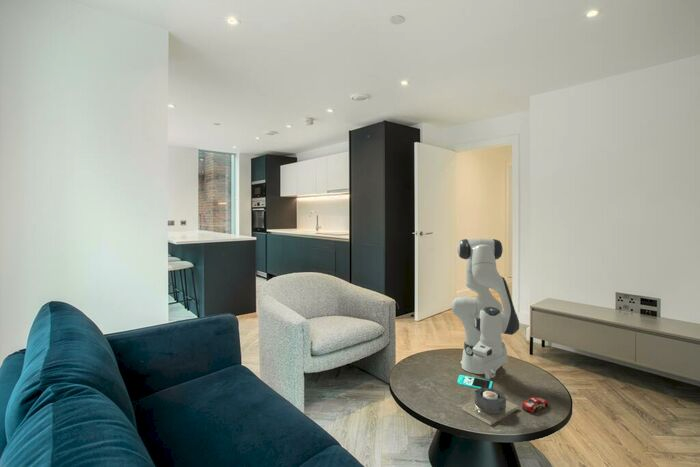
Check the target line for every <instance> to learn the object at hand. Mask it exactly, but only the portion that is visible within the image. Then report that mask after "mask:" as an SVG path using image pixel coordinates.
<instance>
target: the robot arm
mask: <svg viewBox="0 0 700 467" xmlns="http://www.w3.org/2000/svg"><path fill="white" fill-rule="evenodd" d="M456 251H457V255H458V256H459V258H461V259H463V260H466V265H465V285H466V287H467V289H469V290H471V291H473V292H474V293H476V295H477V297H474V296H473V297H472V296H459V297H458V296H456V297H455V298H454V299H453V300H452V301H451V307H450V308H451V311H452V313H453V314H454V315H455V316H456V317H457V318H458V319H459V320H460V321H461V322H462V325H463V328H464V343H463V350H462V356H461V357H462V359H461V360H460V364H461V368H462V369H463V370H464V371H466V372H468V373H471V374H475V375H477V374H478V375H485V380H489V381H490V379H493V378H495V377H496V372H497V370H499V369H500V368H501V367H502V365H504V364H507V362H508V350H507V347H506V344H505V342H503V338H502V334H503V335H509V336H510V335H511V336H513V335H514V334H516V333H517V332H518V331H519V330H520V321H519V317H518V315H517V312H516V309H515V307H514V306H515V305H514V303H513V299H512V296H511V292H510V290H509V286H508V283H507V281H506V279H505V277H503V276H501V274H500V272H498V268H497V262H496V260H499V259H500V258H501V257H502V255H503V252H504V248H503V244H502V242H501V241H500V240H498V239H496V238H495V239H494V238H492V239H491V238H470V239H469V238H468V239H466V238H464V239H461V240H459V242H458V244H457V246H456ZM490 289H491V290H493V291H495V292H496V293H498V296H499V297H500V301H501V302H500V301H499V300H498V299H497V298H495V296H494V295H493V294H492V292H491V290H490Z"/></svg>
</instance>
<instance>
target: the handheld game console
mask: <svg viewBox="0 0 700 467" xmlns="http://www.w3.org/2000/svg"><path fill="white" fill-rule="evenodd" d="M457 384H458V385H460V386H465V387H469V388H472V389H473V388H474V389H477V390H478V389H480V388H492V386H493V381H492V380H490V379H489V380H488V379H483V378H478V377H475V376H469V375H463V374H459V375H458V378H457Z"/></svg>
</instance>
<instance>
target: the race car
mask: <svg viewBox="0 0 700 467" xmlns="http://www.w3.org/2000/svg"><path fill="white" fill-rule="evenodd" d="M548 403H549V402H548V401H547V400H546V399H545V398H542V397H532V396H531V397H530V398H528V399H526V400H525V401H524V402H522V405H521V409H523V410H525V411H527V412H528V413H531V414H533V413H534V412H535V413H537V412H539V411H540V410H543V409H545V407H546V408H547V407H548V406H549V404H548Z"/></svg>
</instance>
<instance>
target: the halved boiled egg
mask: <svg viewBox="0 0 700 467" xmlns="http://www.w3.org/2000/svg"><path fill="white" fill-rule="evenodd" d="M483 397H484V398H486V399H491V400H497V399H498V395H497V394H496V393H494V392H491V391H485V392H483Z"/></svg>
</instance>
